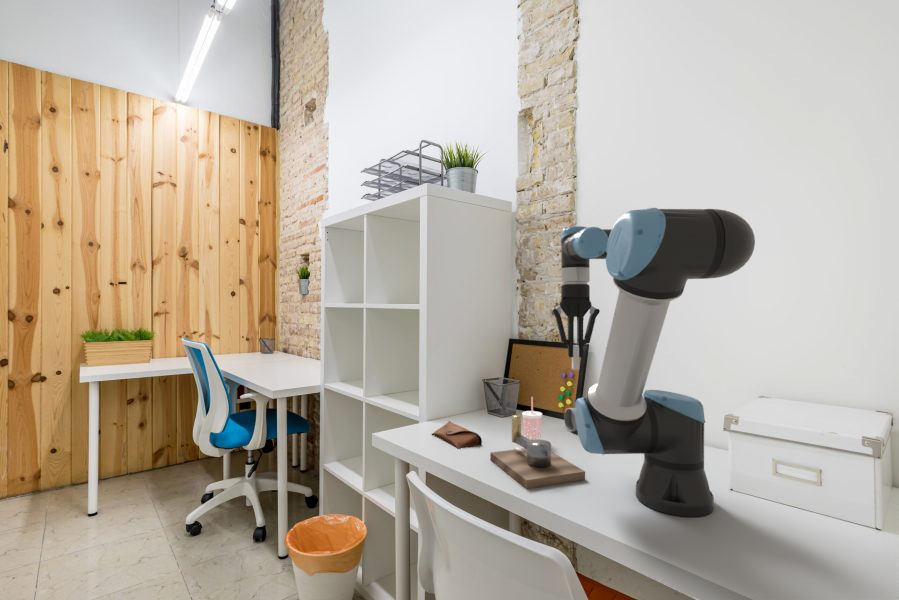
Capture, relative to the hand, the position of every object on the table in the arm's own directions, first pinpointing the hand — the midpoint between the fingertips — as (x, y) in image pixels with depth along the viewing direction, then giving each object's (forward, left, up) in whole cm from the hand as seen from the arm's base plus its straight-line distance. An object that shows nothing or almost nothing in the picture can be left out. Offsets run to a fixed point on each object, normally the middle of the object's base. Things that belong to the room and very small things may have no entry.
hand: (575, 368), depth 125 cm
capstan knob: (-1, +15, -22) cm, 27 cm away
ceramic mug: (+23, -16, -25) cm, 37 cm away
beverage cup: (+15, +5, -25) cm, 29 cm away
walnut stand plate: (-4, +15, -24) cm, 29 cm away
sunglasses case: (+26, +26, -25) cm, 45 cm away
